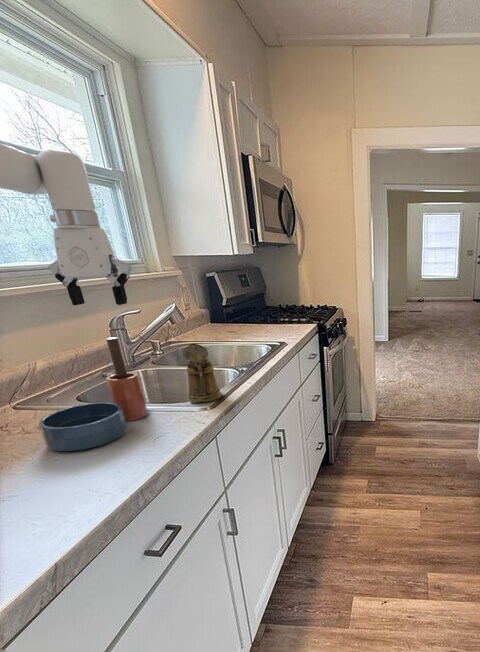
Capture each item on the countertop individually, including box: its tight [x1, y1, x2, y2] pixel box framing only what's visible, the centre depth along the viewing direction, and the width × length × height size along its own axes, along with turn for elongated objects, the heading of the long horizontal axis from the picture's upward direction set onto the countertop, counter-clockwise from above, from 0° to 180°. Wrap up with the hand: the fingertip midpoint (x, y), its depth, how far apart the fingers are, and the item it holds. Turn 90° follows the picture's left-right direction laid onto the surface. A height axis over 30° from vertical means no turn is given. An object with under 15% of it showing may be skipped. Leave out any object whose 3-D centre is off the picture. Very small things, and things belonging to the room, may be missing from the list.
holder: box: [105, 371, 148, 422], centre depth 103 cm, size 7×7×11 cm
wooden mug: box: [182, 343, 222, 404], centre depth 112 cm, size 9×14×18 cm, turn 23°
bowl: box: [38, 401, 128, 452], centre depth 92 cm, size 15×15×6 cm
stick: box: [105, 336, 128, 379], centre depth 101 cm, size 2×2×20 cm
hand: (100, 304), depth 91 cm, fingers open, 9 cm apart
